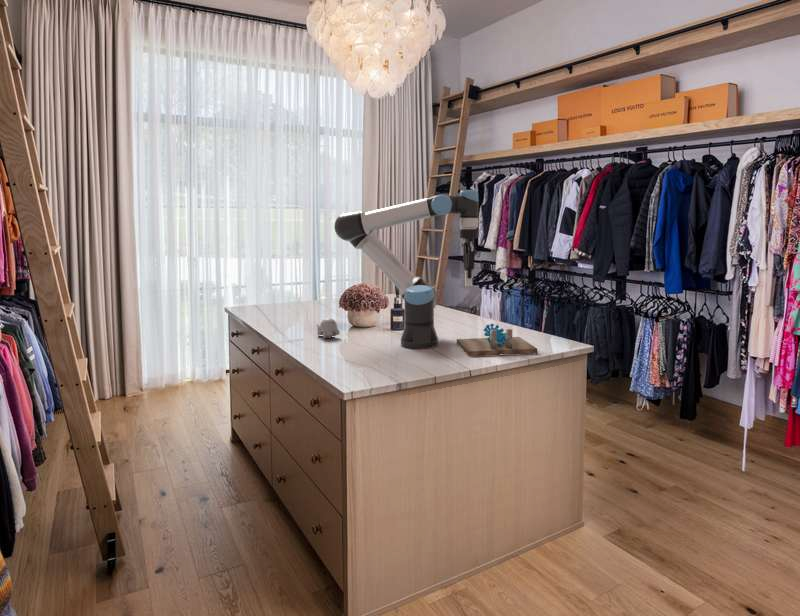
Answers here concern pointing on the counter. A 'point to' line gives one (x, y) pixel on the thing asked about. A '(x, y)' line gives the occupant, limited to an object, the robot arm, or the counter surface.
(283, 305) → the counter surface
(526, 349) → the dowel plate
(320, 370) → the counter surface
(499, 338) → the gear
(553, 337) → the counter surface
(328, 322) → the chubby cartoon animal
